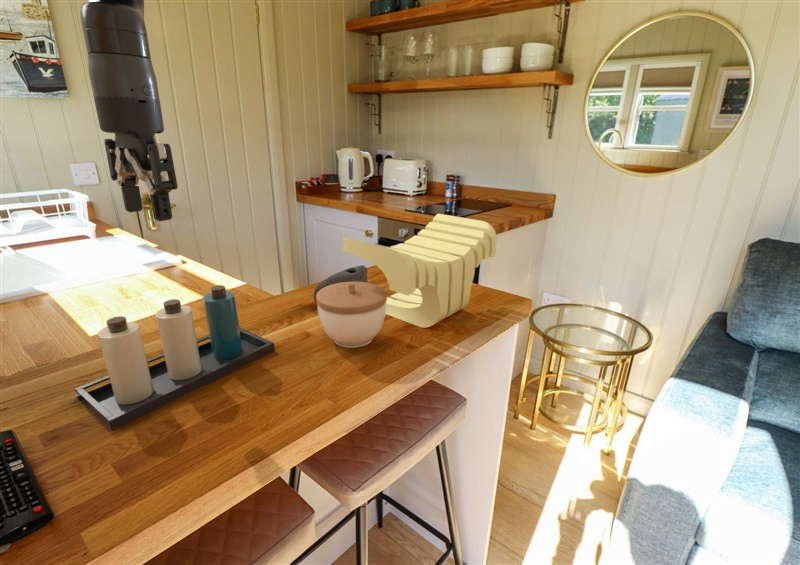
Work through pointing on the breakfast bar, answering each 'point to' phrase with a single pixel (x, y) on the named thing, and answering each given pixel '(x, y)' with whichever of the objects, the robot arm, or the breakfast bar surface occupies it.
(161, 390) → the tray
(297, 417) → the breakfast bar surface
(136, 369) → the cream bottle
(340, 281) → the perforated stone tool
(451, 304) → the slatted curved stool
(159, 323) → the cream bottle
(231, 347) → the teal bottle
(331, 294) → the lidded bowl
